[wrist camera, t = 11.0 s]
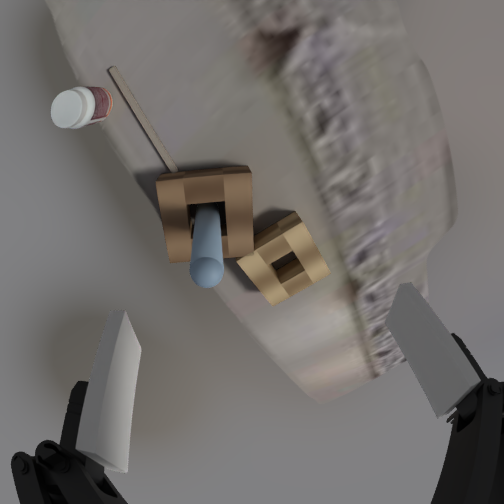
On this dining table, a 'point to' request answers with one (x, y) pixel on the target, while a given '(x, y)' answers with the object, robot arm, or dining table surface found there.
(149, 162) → the dining table surface
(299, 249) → the light wood square frame
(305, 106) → the dining table surface
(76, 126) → the pill bottle
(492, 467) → the robot arm
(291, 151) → the dining table surface
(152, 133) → the thin wooden stick
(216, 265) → the blue-grey peg
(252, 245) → the square wooden ring
